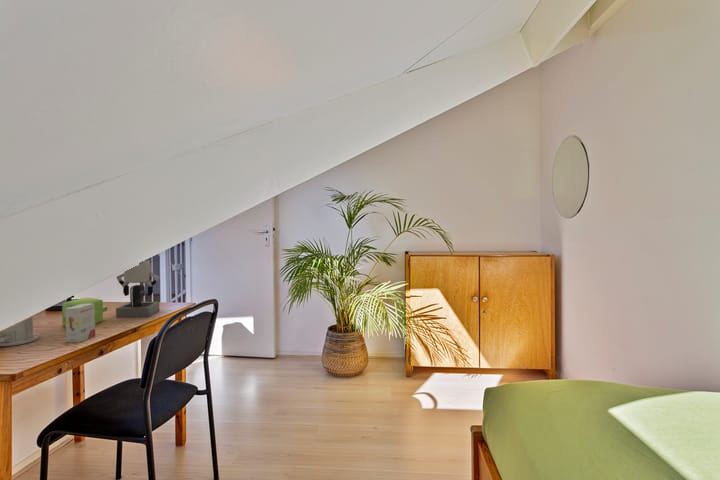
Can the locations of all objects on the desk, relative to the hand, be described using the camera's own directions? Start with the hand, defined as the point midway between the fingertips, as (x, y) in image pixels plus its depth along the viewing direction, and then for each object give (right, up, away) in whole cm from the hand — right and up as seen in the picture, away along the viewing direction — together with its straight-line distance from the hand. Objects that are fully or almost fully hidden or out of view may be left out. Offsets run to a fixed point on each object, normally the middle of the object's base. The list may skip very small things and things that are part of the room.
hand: (138, 295), depth 178 cm
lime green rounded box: (-12, -9, -18) cm, 24 cm away
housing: (0, -8, 0) cm, 8 cm away
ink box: (0, -11, -37) cm, 38 cm away
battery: (0, -7, 0) cm, 7 cm away
